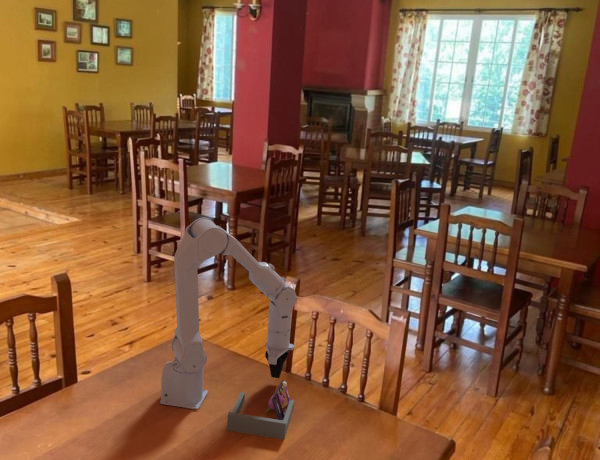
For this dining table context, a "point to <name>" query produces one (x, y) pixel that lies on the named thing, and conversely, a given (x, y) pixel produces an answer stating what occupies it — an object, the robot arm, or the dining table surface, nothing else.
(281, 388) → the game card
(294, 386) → the dining table surface
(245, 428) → the frame
